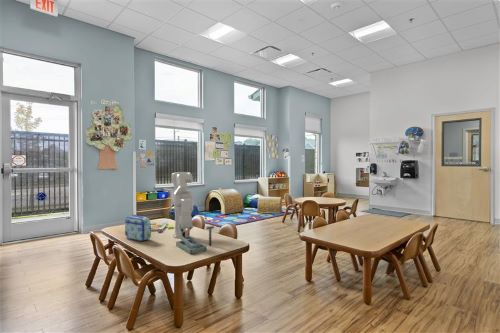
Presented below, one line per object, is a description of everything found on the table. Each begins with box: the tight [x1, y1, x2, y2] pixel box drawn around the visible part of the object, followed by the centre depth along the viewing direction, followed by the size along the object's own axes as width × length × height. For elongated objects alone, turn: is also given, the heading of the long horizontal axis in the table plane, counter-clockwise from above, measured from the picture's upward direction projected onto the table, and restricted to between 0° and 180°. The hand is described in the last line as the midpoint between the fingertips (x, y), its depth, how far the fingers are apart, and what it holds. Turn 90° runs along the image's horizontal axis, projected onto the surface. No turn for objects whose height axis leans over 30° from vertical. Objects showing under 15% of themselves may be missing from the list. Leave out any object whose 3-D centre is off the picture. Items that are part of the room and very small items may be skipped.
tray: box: [175, 239, 207, 255], centre depth 219 cm, size 26×13×4 cm, turn 38°
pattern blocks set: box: [151, 222, 174, 234], centre depth 281 cm, size 38×34×3 cm
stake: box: [206, 225, 215, 247], centre depth 226 cm, size 2×6×16 cm, turn 128°
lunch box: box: [124, 214, 152, 242], centre depth 244 cm, size 26×11×21 cm, turn 58°
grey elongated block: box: [180, 229, 202, 248], centre depth 218 cm, size 21×8×7 cm, turn 38°
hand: (185, 236), depth 225 cm, fingers closed on grey elongated block, 3 cm apart
